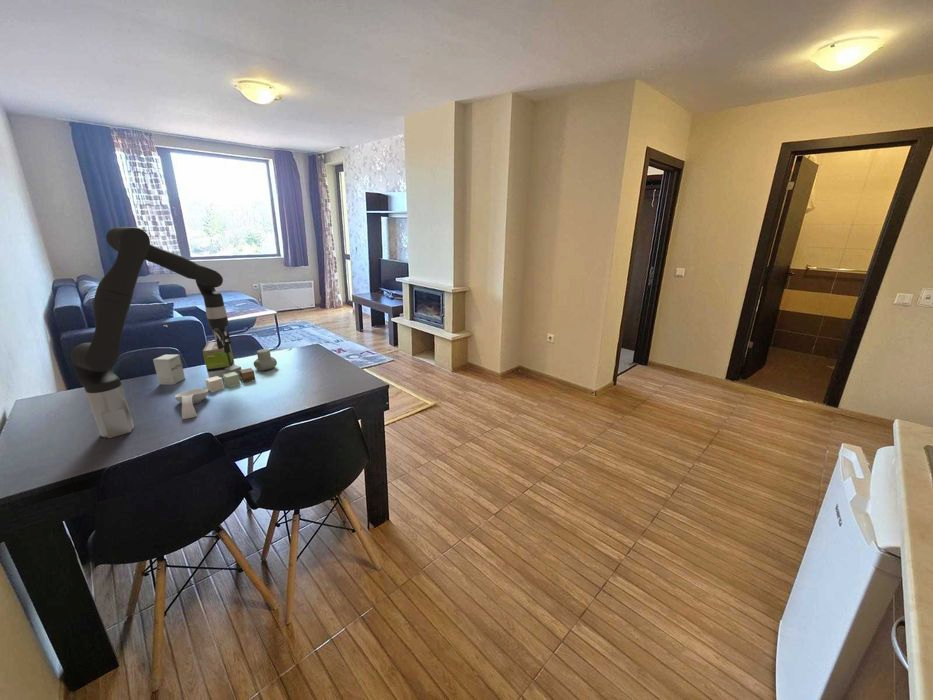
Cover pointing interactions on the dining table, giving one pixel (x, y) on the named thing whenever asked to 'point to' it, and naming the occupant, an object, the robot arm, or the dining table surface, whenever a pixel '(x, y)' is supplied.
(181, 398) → the spoon rest
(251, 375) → the walnut cube
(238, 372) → the slate cube
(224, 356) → the tea box
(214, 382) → the cream cube
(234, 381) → the sage cube
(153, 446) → the dining table surface
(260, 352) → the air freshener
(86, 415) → the dining table surface
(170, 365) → the supplement box
